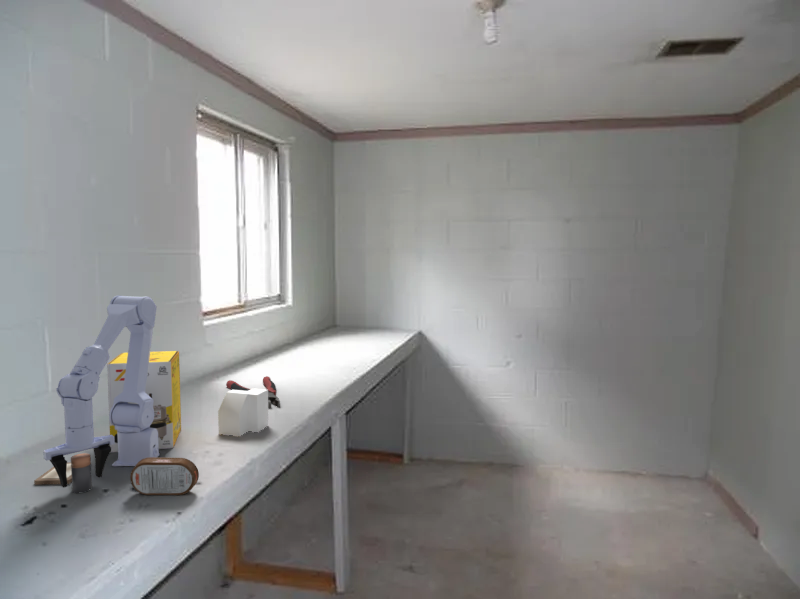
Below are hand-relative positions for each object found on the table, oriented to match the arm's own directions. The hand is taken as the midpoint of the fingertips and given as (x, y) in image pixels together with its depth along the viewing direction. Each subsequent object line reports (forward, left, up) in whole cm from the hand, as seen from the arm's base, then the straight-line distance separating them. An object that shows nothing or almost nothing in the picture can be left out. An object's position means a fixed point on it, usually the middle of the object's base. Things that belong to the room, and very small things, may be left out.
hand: (81, 481), depth 130 cm
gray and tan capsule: (0, 0, -2) cm, 2 cm away
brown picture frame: (+8, -9, -2) cm, 12 cm away
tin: (-20, +3, -2) cm, 20 cm away
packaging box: (-3, -33, -2) cm, 33 cm away
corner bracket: (-29, -41, -2) cm, 50 cm away
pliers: (-25, -81, -3) cm, 85 cm away
